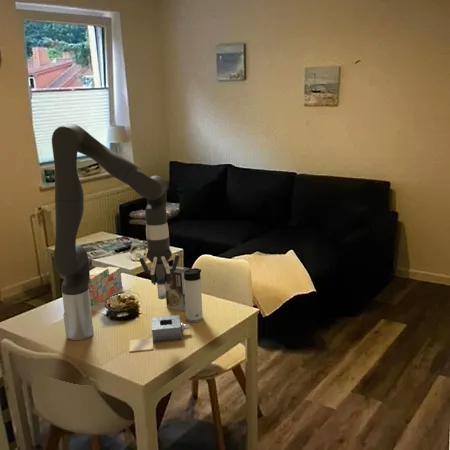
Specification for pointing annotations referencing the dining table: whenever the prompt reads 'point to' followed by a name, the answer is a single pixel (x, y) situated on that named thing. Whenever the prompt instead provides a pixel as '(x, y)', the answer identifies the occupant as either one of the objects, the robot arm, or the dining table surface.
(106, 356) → the dining table surface
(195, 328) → the dining table surface
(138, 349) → the cork mat
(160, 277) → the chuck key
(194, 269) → the travel mug
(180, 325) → the block
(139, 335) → the dining table surface
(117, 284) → the stack of blocks
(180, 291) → the coffee box
